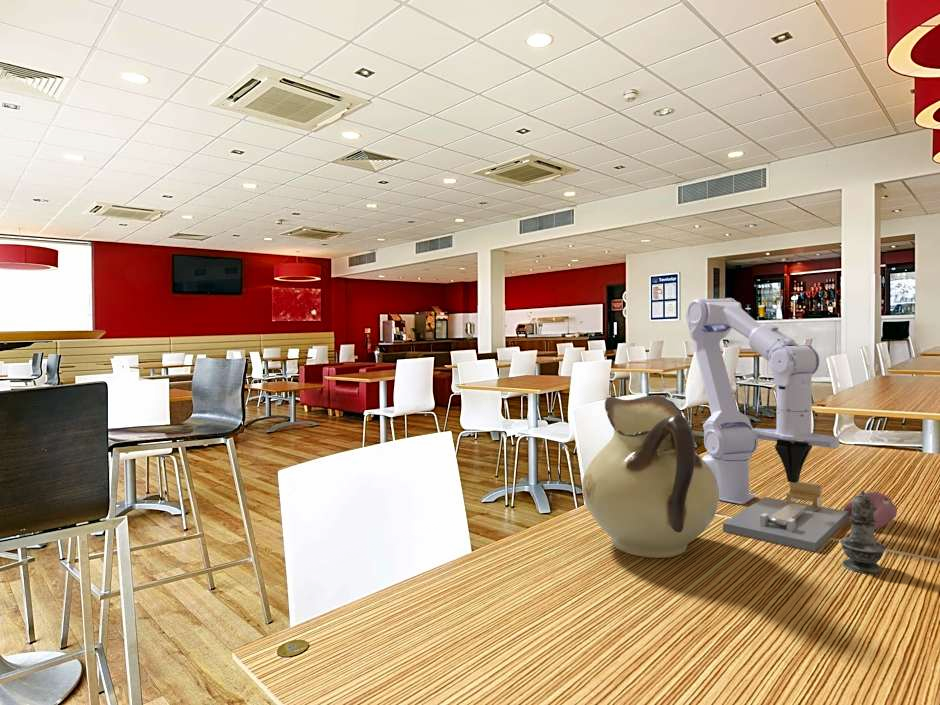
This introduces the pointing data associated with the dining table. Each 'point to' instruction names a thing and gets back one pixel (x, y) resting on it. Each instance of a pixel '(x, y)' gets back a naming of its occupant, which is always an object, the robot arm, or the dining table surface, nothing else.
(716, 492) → the pitcher
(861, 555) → the grey stone finial
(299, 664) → the dining table surface
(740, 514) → the base board
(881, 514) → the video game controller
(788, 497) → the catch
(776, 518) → the silver flat bar
